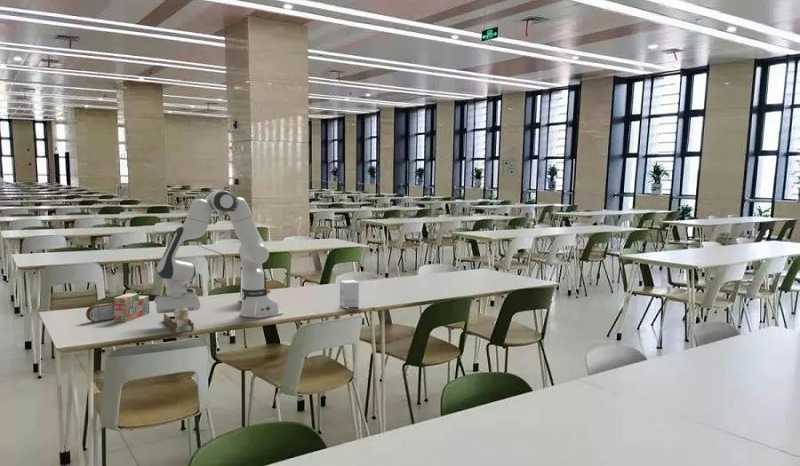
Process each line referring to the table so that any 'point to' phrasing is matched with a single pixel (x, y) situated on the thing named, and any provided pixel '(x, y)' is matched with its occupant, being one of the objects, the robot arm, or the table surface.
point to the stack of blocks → (130, 307)
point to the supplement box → (349, 293)
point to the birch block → (181, 317)
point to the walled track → (171, 323)
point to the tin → (100, 312)
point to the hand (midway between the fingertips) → (180, 318)
